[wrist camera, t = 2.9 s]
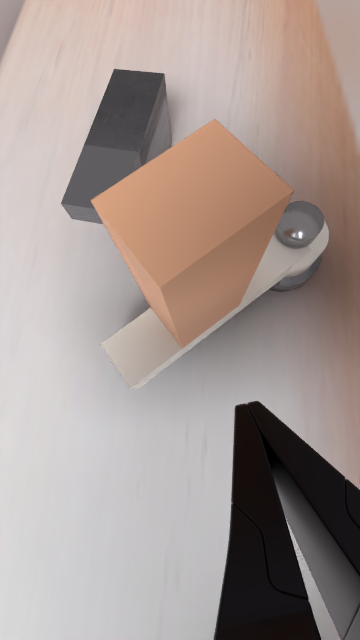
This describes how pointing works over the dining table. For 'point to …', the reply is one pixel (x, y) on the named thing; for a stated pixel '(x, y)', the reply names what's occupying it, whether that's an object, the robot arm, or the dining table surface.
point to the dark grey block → (120, 138)
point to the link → (196, 245)
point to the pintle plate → (298, 237)
